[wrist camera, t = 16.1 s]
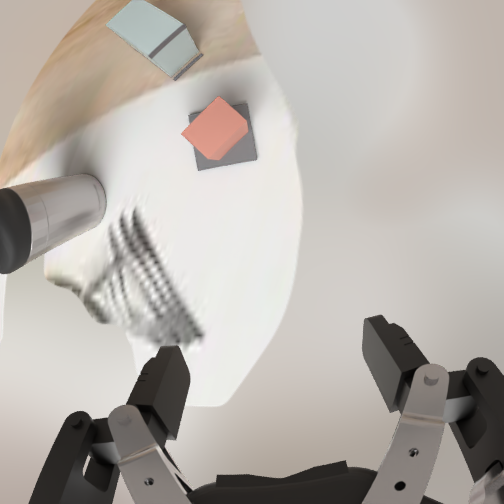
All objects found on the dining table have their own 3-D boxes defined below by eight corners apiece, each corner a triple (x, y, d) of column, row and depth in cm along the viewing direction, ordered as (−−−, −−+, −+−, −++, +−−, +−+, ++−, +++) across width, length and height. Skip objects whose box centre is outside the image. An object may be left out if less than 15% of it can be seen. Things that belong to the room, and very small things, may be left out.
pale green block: (203, 55, 30) (190, 28, 21) (175, 81, 31) (153, 60, 23) (157, 22, 27) (136, -4, 19) (131, 46, 29) (105, 25, 20)
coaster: (198, 170, 35) (198, 170, 35) (189, 116, 33) (188, 115, 32) (256, 160, 35) (257, 159, 34) (247, 104, 32) (247, 103, 32)
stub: (248, 131, 33) (246, 120, 25) (219, 160, 34) (208, 159, 26) (227, 112, 32) (218, 95, 24) (198, 140, 34) (180, 133, 25)
